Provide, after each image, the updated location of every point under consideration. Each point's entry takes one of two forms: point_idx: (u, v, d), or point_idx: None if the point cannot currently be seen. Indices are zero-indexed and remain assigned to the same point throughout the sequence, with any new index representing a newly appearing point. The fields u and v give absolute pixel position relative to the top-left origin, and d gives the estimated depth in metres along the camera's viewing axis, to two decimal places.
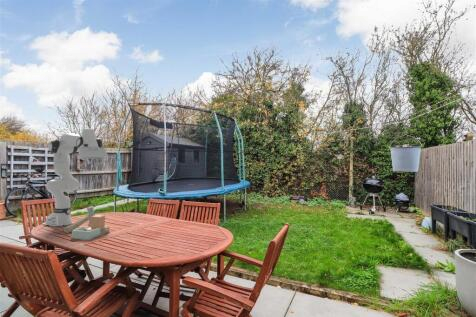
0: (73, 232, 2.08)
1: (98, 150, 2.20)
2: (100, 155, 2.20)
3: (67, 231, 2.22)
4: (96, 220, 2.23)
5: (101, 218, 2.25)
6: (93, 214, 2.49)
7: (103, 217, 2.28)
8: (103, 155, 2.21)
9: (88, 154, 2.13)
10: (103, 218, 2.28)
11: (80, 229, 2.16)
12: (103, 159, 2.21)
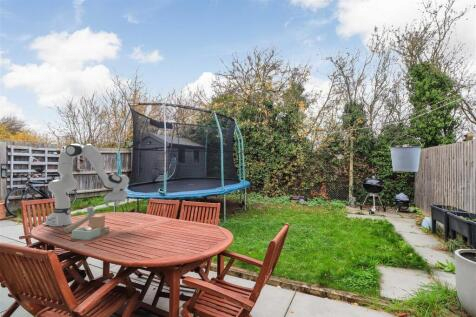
0: (73, 232, 2.08)
1: None
2: None
3: (67, 231, 2.22)
4: (96, 220, 2.23)
5: (101, 218, 2.25)
6: (93, 214, 2.48)
7: (103, 217, 2.28)
8: None
9: None
10: (103, 218, 2.28)
11: (80, 229, 2.16)
12: None
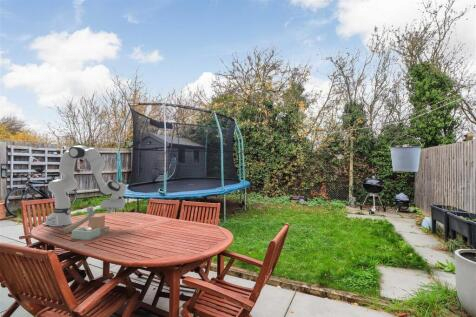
0: (73, 232, 2.08)
1: None
2: None
3: (66, 231, 2.21)
4: (96, 220, 2.23)
5: (101, 218, 2.25)
6: (93, 214, 2.48)
7: (103, 217, 2.28)
8: None
9: None
10: (103, 218, 2.28)
11: (80, 229, 2.16)
12: None
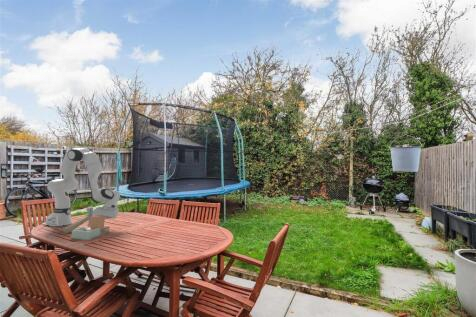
0: (73, 232, 2.08)
1: None
2: None
3: (66, 231, 2.21)
4: (95, 220, 2.22)
5: (100, 218, 2.25)
6: None
7: (102, 217, 2.27)
8: None
9: None
10: (102, 218, 2.27)
11: (80, 229, 2.16)
12: None
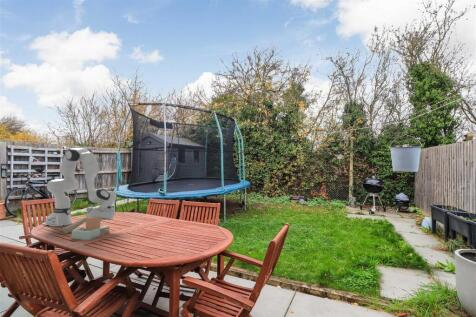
0: (73, 232, 2.08)
1: None
2: None
3: (66, 231, 2.21)
4: (91, 222, 2.17)
5: (96, 220, 2.19)
6: None
7: (98, 219, 2.22)
8: None
9: None
10: (98, 220, 2.22)
11: (80, 229, 2.16)
12: None
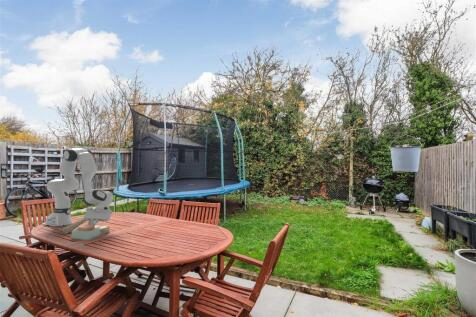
0: (73, 232, 2.08)
1: None
2: None
3: (65, 232, 2.20)
4: None
5: None
6: None
7: (87, 230, 2.10)
8: None
9: None
10: (88, 229, 2.10)
11: None
12: None
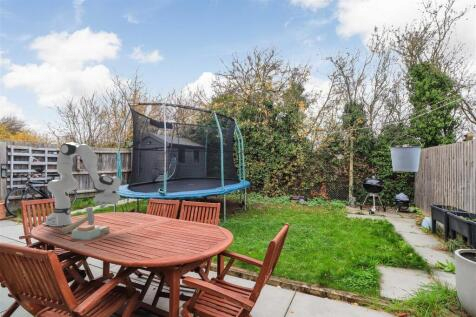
0: (73, 232, 2.08)
1: None
2: None
3: (65, 232, 2.20)
4: None
5: None
6: (92, 215, 2.46)
7: (87, 230, 2.10)
8: None
9: None
10: (88, 229, 2.10)
11: None
12: None
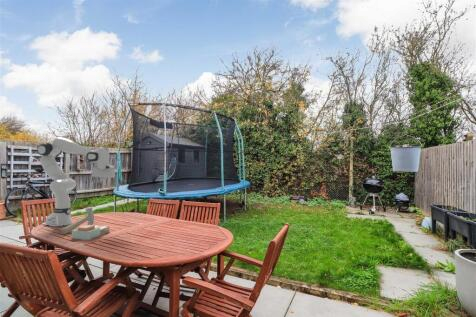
0: (73, 232, 2.08)
1: None
2: None
3: (64, 232, 2.19)
4: None
5: None
6: (92, 215, 2.46)
7: (87, 230, 2.10)
8: None
9: None
10: (88, 229, 2.10)
11: None
12: (101, 178, 2.47)
